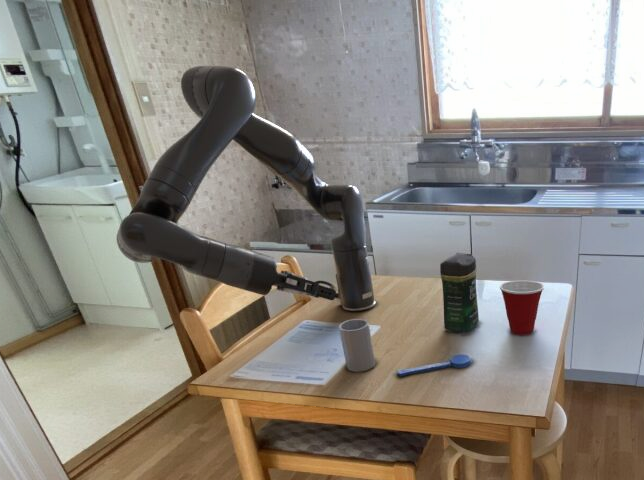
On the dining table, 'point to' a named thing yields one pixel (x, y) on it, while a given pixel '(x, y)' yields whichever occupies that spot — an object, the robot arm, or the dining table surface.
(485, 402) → the dining table surface
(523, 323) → the plastic cup
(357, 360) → the gray cup
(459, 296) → the coffee jar
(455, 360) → the spoon
